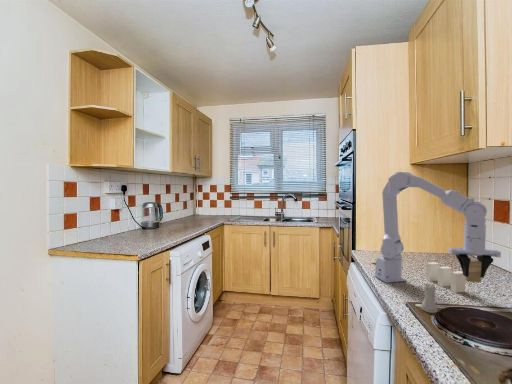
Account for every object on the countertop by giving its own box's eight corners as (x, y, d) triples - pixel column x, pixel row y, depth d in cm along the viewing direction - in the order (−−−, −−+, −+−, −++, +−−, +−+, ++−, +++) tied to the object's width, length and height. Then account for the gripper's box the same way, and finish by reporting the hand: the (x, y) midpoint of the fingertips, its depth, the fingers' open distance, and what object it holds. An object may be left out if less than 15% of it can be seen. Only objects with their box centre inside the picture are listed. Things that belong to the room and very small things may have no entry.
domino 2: (450, 285, 104) (451, 268, 103) (442, 286, 103) (442, 268, 103) (446, 283, 106) (446, 266, 105) (437, 284, 105) (438, 267, 105)
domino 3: (464, 291, 98) (465, 272, 98) (455, 292, 98) (456, 273, 97) (459, 289, 100) (460, 271, 100) (450, 290, 99) (451, 271, 99)
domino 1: (438, 280, 109) (439, 263, 109) (430, 281, 108) (430, 264, 108) (434, 278, 111) (434, 262, 111) (426, 279, 110) (426, 262, 110)
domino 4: (480, 282, 92) (481, 262, 92) (467, 281, 93) (468, 261, 93) (477, 280, 94) (478, 260, 94) (464, 279, 95) (465, 259, 95)
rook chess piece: (441, 312, 83) (442, 287, 83) (429, 314, 82) (430, 288, 82) (429, 306, 87) (430, 281, 87) (417, 307, 86) (418, 283, 86)
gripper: (492, 235, 95) (490, 273, 95) (445, 234, 98) (444, 270, 99) (505, 240, 88) (503, 281, 88) (454, 238, 91) (453, 277, 92)
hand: (473, 276), depth 93 cm, fingers closed on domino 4, 4 cm apart
